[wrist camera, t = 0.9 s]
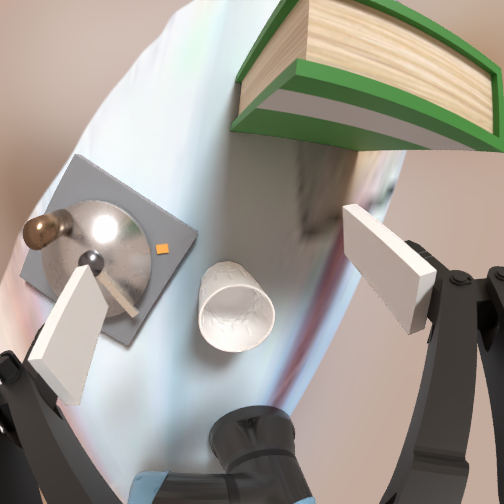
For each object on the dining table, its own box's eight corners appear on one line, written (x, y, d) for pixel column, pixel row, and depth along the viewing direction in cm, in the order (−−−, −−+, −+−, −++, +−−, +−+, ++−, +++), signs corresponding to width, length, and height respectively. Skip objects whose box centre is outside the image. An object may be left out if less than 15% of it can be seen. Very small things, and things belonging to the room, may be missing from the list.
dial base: (130, 338, 40) (127, 347, 38) (25, 271, 34) (18, 276, 32) (197, 231, 38) (197, 235, 36) (80, 154, 32) (74, 154, 30)
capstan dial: (181, 274, 37) (179, 306, 28) (101, 334, 36) (84, 374, 28) (102, 171, 31) (75, 172, 23) (27, 244, 31) (-9, 265, 23)
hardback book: (230, 131, 35) (295, 74, 13) (236, 75, 34) (303, -33, 11) (358, 151, 39) (504, 152, 17) (362, 101, 37) (501, 68, 15)
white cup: (253, 253, 40) (273, 279, 31) (256, 308, 42) (276, 346, 33) (192, 260, 39) (193, 289, 29) (199, 315, 41) (204, 357, 31)
